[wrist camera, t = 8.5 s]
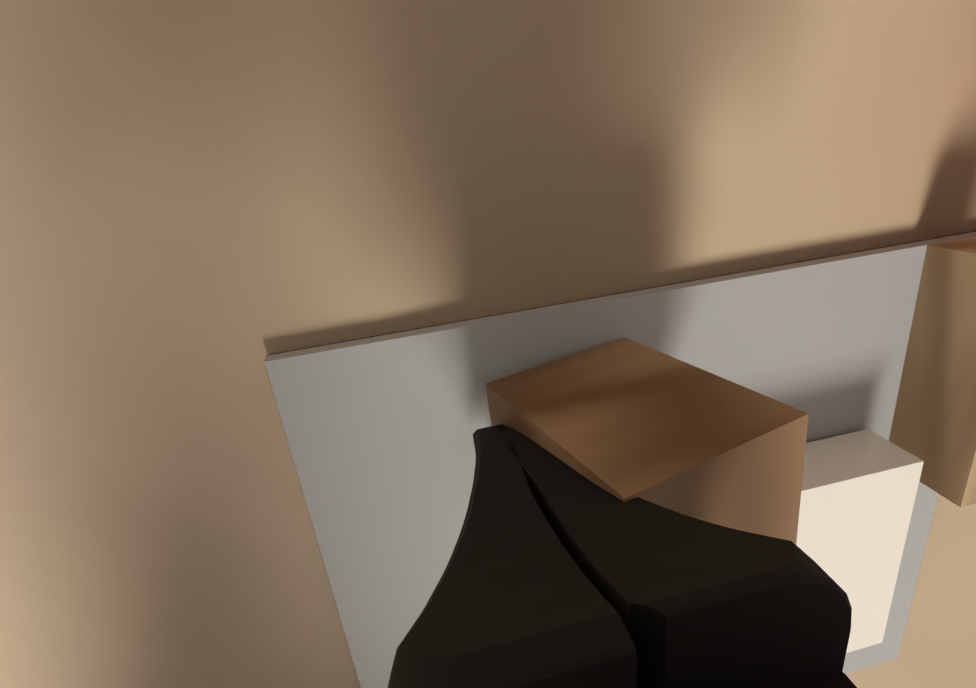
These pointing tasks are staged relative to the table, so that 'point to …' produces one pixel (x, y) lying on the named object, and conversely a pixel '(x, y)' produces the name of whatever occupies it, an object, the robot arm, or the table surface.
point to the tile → (858, 521)
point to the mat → (548, 337)
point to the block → (663, 434)
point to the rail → (942, 374)
